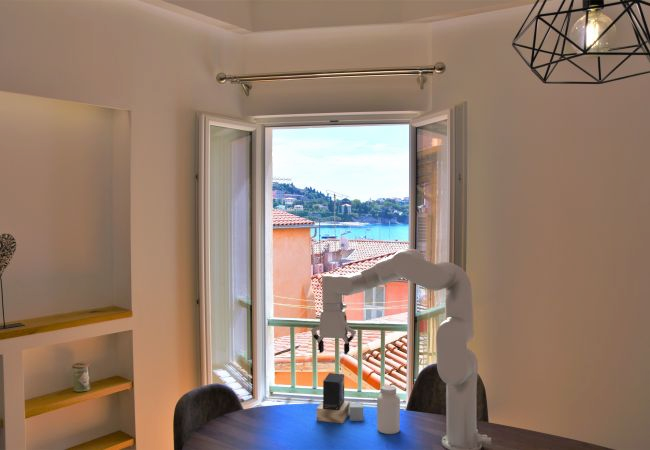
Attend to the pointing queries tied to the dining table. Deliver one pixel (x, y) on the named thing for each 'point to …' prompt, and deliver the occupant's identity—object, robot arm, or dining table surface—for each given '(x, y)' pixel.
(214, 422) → the dining table surface
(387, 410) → the pill bottle
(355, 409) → the slate cube
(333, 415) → the beech plinth
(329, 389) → the small box
